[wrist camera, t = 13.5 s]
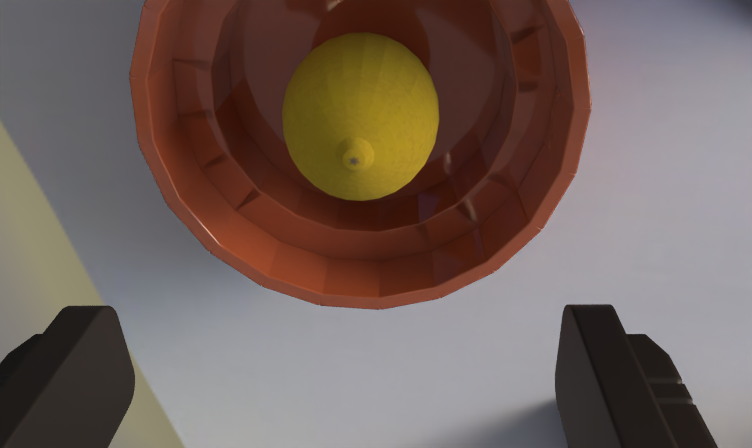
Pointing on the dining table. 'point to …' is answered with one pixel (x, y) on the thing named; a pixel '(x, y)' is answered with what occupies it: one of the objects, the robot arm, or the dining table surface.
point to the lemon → (360, 116)
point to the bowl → (377, 216)
